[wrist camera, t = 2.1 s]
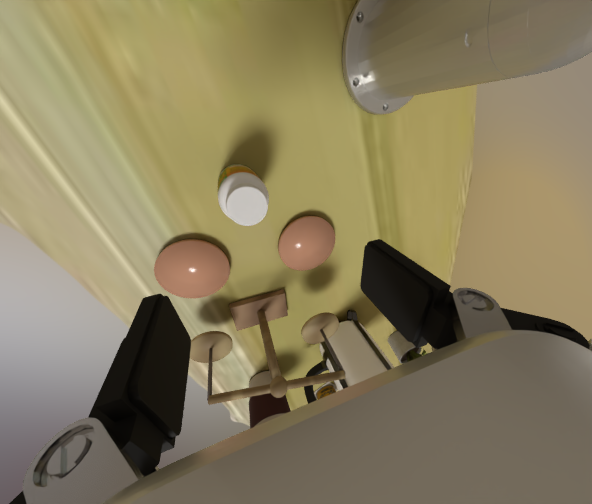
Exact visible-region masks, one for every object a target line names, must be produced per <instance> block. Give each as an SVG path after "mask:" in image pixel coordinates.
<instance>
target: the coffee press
mask: <svg viewBox="0 0 592 504" xmlns="http://www.w3.org/2000/svg"><path fill="white" fill-rule="evenodd" d="M352 318H353V321H351V320H352ZM328 341H329V343H330V344H331V346H332V348H333V350H334V352H335V354H336V356H337V358H338V360H339V361H340V363H341V365H342V367H343V369H344V371H345V373H346V374H345V377H346V378H345V379H340V380H335V381H334V382H335V384H336V386H337V389H338V391H340V390H342V389H345V388H347V387H349V386H352V385H354V384H357V383H359V382H361V381H364V380H366V379H368V378H371V377H373V376H376V375H378V374H380V373H383V372H385V371H388V370H390V369H392V368H394V366H393V365H392V364H391V362H390V361H389V360H388V358H387V357H386V356H385V354H384V353H383V352H382V350H381V349H380V348H379V346H378V345H377V344H376V342H375V341H374V340H373V338H372V337H371V336H370V334H369V333H368V332H367V330H366V329H365V328H364V326H363V325H362V324H361V323H359V322H358V320H357V315H356V311H353V310H349V311H348V313H347V321H344V322H341V323H339V327H338V329H337V331H336V332H335V334H334V335H333V336H331V337H330V338H329V339H328ZM320 352H321V354H322V356H323V361H321V362H320V363H319V364H317V365H316V366H314V367H313V368H312V369H311V370H310V371H309V372H308V373H307V375H306V377H310V376H315V375H319V374H320V373H322V372H323V371H326V370H329V371H330V373H331V372H336V371H340V369H339V367H338V365H337V363H336V361H335V359H334V357H333V355H332V353H331V352H330V350H329V348H328V346H327V344H326V342H325V341H323V342H321V343H320ZM304 390H305V395H306V398H307V401H308V404H309V403H311V402H314V401H316V397H315V394H314V391H313V385H309V386H304Z"/></svg>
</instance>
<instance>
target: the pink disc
mask: <svg viewBox="0 0 592 504" xmlns="http://www.w3.org/2000/svg"><path fill="white" fill-rule="evenodd" d="M334 244H335V233H334V230H333V228H332V226H331V225H330V224H329V223H328V222H327V221H326V220H324V219H323V218H321V217H318V216H304V217H300V218H298V219H296V220H294V221H293V222H291V223H290V224H289V225H288V226H287V227H286V228H285V229H284V231H283V232H282V234H281V236H280V239H279V243H278V251H279V255H280V257H281V259H282V261H283V262H284V263H285V264H286V265H287V266H288V267H290V268H292V269H295V270H302V271H303V270H309V269H313V268H315V267H317V266H319V265H320V264H322V263H323V262H324V261H325V260H326V259H327V258H328V257H329V255H330V254H331V252H332V250H333V248H334Z"/></svg>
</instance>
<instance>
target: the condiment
mask: <svg viewBox="0 0 592 504" xmlns="http://www.w3.org/2000/svg"><path fill="white" fill-rule="evenodd" d="M337 390H338V389H337V386H336V385H334V384H333V383H330V382H327V383H326V384H325V385H323V386H322V387H320V388H319V389H318V390H316V391H315V392H314V394H315V397H316V398H317V399H318V400H319V399H321V398H323V397H326V396H328V395H330V394H333V393H335V392H336V391H337Z"/></svg>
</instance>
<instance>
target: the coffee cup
mask: <svg viewBox="0 0 592 504" xmlns="http://www.w3.org/2000/svg"><path fill="white" fill-rule="evenodd" d="M271 381H272V379H271V375H270V371H264V372H261V373H258V374H257V375H255V376H254V377H253V378H252V379H251V380H250V383H249V388H251V387H257V386H262V385H267V384H270V383H271ZM249 411H250V429H251V428H253V427H255V426H258V425H260V424H262V423H265V422H267V421H269V420H272V419H274V418H276V417H279V416H281V415H283V414H286V413H288V412H290V408H289V405H288V402H287V399H286V396H285V395H284V396H283V397H280V398H276V397H274V396H273V395H272V394H271V393H267V394H262V395H257V396H252V397H250V400H249Z"/></svg>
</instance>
